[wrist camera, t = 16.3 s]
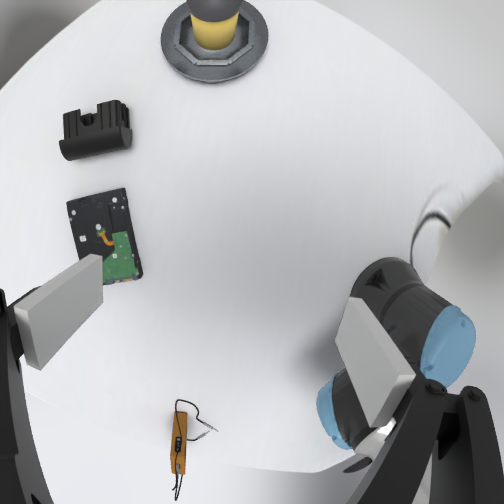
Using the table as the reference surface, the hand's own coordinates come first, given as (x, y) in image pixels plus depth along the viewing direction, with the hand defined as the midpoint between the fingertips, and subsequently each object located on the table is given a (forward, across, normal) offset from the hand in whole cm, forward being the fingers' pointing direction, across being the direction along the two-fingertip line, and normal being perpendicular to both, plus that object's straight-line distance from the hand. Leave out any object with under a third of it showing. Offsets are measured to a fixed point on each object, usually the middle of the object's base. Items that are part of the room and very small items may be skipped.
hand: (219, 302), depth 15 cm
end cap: (+31, -24, +9) cm, 40 cm away
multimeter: (+32, -3, -48) cm, 58 cm away
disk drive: (+31, -21, -8) cm, 39 cm away
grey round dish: (+32, -9, +26) cm, 43 cm away
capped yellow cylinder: (+29, -8, +26) cm, 40 cm away
